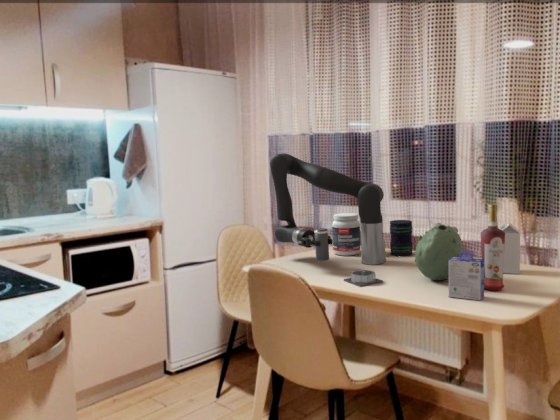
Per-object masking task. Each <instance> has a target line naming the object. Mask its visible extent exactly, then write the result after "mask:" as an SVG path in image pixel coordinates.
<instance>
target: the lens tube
mask: <svg viewBox="0 0 560 420" xmlns="http://www.w3.org/2000/svg"><path fill="white" fill-rule="evenodd" d="M313 231H314V233H315V240H318V241H319V242H320V246H314V248H315V260H316V261H319V262H322V261H325V262H326V261H328V260H330V252H329V251H330V249H329V244H328V235H329V233H328V232H329V230H328V228H315V229H314V230H313Z"/></svg>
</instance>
